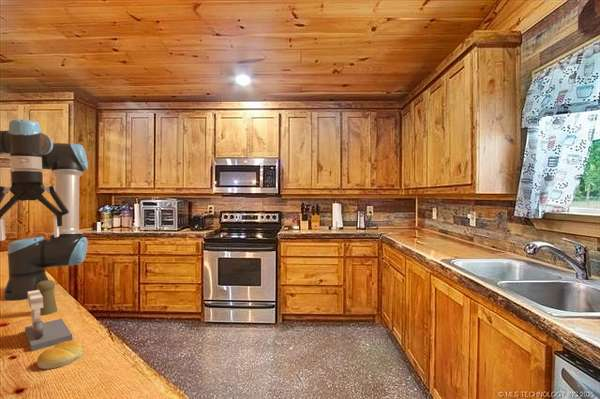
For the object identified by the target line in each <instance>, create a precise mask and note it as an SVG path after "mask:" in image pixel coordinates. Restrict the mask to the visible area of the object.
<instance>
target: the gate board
mask: <svg viewBox="0 0 600 399" xmlns="http://www.w3.org/2000/svg"><path fill="white" fill-rule="evenodd" d="M24 333H25V336H26V340H27V341H28V345H29V348H30V351H31V352H33V351H37V350H41V349H44V348H45V349H46V348H48V347H51V346H52V347H53V346H55V345H57V344H58V343H61V342H64V341H73V334H72V332H71V330H70V329H69V327H68V326H67V325H66V323H65V322H64V320H63V319H62V318H59V319H53V320H50V321H45V322H43V336H42V337H40V338H34V330H33V327H32V325H28V326H25V327H24Z"/></svg>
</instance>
